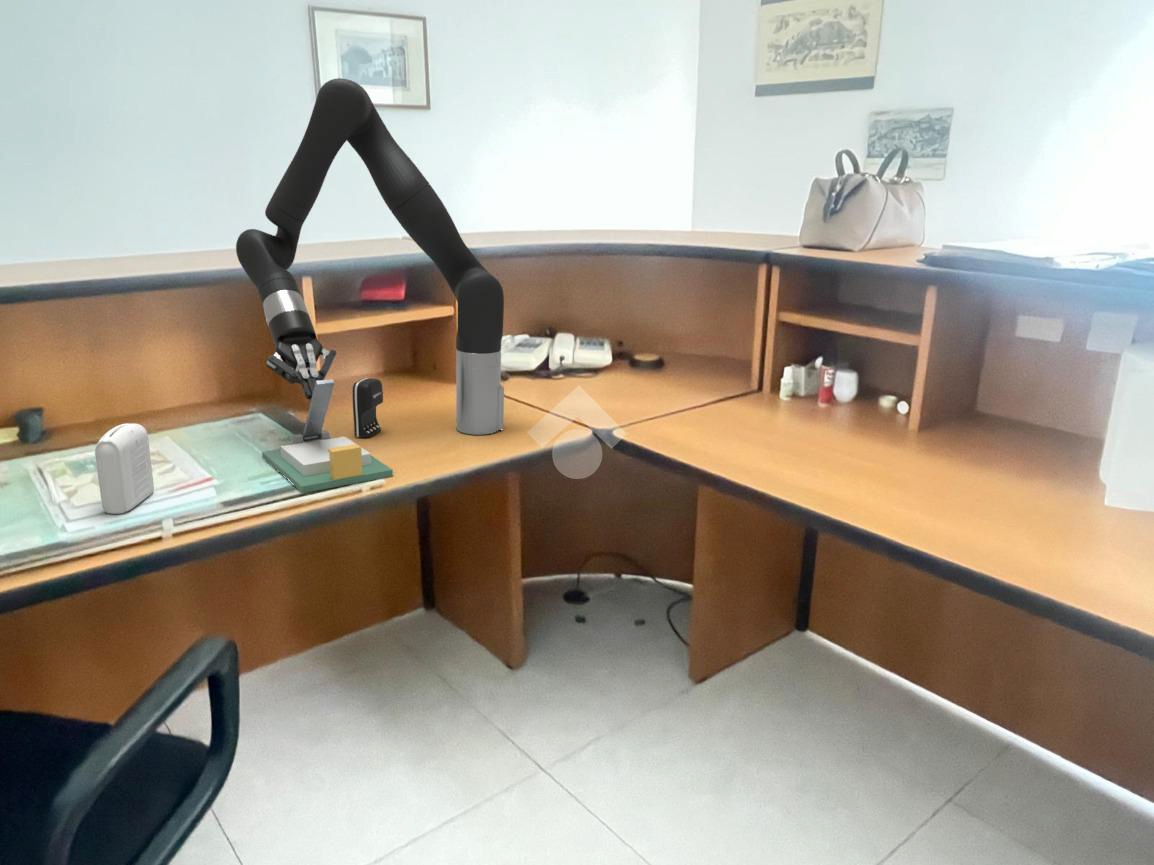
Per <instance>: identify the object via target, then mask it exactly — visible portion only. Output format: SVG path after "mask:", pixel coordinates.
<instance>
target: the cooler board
mask: <svg viewBox="0 0 1154 865" xmlns="http://www.w3.org/2000/svg"><path fill="white" fill-rule="evenodd" d="M291 436H292V437H291V438H292V444H286V445H281V446H280V448H277V449H270V450H265V451H261V453H262V454H261V455H262V456H261V458H262V459H263V458H264V459H265V460H266V461H267V462H266V461H265V460H264V459H263V460H264V461H265V462H266V463H267V464H269V465H270V464H271V465H272V466H273V467H274V468H275V469H277V470H278V471H279V472H280V473H281V474H282V475H284V476H285V477H286V478H288V479H289V480H290V481H291V482H292V483H293V484H294V485H295V486H296V487H295V486H294V487H295V488H296V489H297V490H298V492H301V494H306V493H311V492H316V491H321V490H327V489H332V488H338V487H342V486H343V487H344V486H347V485H353V484H360V483H364V482H369V481H374V480H380V479H381V480H382V479H384V478H391V477H393V476H394V474H393V473H394V472H393V469H392V468H391V467H389V466H388V465H386V464H384V463H383V462H382V461H380V460H378V459H377V458H376V457H375V456H372V453H370V452H369V451H367V450H366V449H364V448H363V447H362V446H360V445H359V444H357V443H355V442H354V441H352V440H351V439H349V438H348V437H346V436H344V435H343V436H339V437H332V438H330V436H331V433H330V431H328V430H326V429H325V430H324V429H323V430H322V431H321V435H320V436H321V438H320V439H318V440H312V441H305V442H303V436H302V434H301V433H298V434H297V433H296V434H292V435H291ZM271 465H270V466H271ZM272 466H271V467H272ZM273 467H272V468H273ZM274 468H273V469H274ZM275 469H274V470H275ZM277 470H276V471H277ZM278 471H277V472H278ZM279 472H278V473H279ZM280 473H279V474H280ZM281 474H280V475H281ZM282 475H281V476H282ZM286 478H285V479H286Z"/></svg>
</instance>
